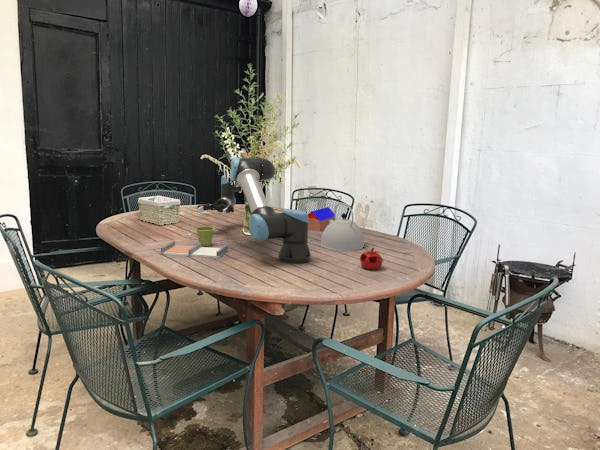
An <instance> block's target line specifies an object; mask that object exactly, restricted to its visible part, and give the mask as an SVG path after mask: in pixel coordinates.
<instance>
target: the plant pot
mask: <svg viewBox="0 0 600 450" xmlns="http://www.w3.org/2000/svg"><path fill="white" fill-rule="evenodd" d="M215 229H216V228H215V227H212V226H198V227H196V228H195V230H196V234H197V240H198V243H201V247H210V246H212V244H213V243H212V242H213V234H214V231H215Z"/></svg>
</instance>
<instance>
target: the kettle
mask: <svg viewBox="0 0 600 450" xmlns="http://www.w3.org/2000/svg"><path fill="white" fill-rule="evenodd" d="M339 205H345V206H346V207H347V208H349V210H350V213H351V220H350V219H347V214H346V213H343V212H342V213H341V218H339V219H337V213H336V212H337V208H338V206H339ZM333 213H334V216H335V221H334V220H329V221H330V224H329V225H328V226H327V227H326V228H325V230H322V231H323V232H322V234H321V239H320V245H321V247H323V248H325V249H328V250H331V251H332V250H334V251H340V252H350V251H351V252H352V251H359V249H360V250H362V249H364V248H365V235H364V233H363V230H362V228H361V227H360V226H359V225H358V224H357V223H355V222H354V212H353V209H352V207H351V206H350V205H349V204H348V203H346V202H339V203H337V204H335V206H334V211H333ZM363 247H364V248H363Z"/></svg>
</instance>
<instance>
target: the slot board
mask: <svg viewBox="0 0 600 450" xmlns="http://www.w3.org/2000/svg"><path fill="white" fill-rule="evenodd" d="M228 248H229V245H228V244H224V245H223V246H222V247H210V246H201V243H199V242H198V243H196V244H195V245H193V246H191V245H176V241H173V240H172V241H170V242H169V243H168V244H165V245H163V246H162V247H160V254H161V255H162V256H163V255H164V256H165V255H167V256H180V257H181V256H182V257H197V258H210V259H220V258H221V257H222V256H223V255H225V253H227V252H228V251H229V250H228Z"/></svg>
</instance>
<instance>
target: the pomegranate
mask: <svg viewBox="0 0 600 450" xmlns="http://www.w3.org/2000/svg"><path fill="white" fill-rule="evenodd" d="M374 250H375V247H371V249H370V250H368V249H366V250H365V251H364V252H363V253H361V255H360V257H359V262H360V265H361V267H362V268H364V269H365V268H366V270H371V269H376V270H378V269H380V268H381V267H382V265H383V262H384V259H383V257H382V256H381V255H380V254H379V251H378V250H376V251H374Z"/></svg>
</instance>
